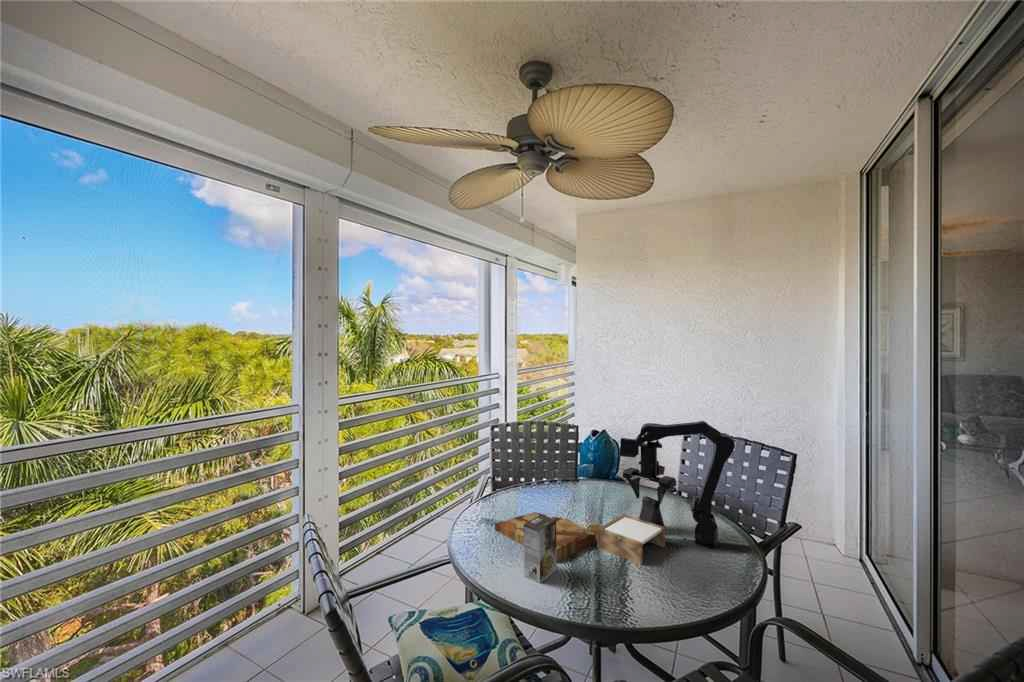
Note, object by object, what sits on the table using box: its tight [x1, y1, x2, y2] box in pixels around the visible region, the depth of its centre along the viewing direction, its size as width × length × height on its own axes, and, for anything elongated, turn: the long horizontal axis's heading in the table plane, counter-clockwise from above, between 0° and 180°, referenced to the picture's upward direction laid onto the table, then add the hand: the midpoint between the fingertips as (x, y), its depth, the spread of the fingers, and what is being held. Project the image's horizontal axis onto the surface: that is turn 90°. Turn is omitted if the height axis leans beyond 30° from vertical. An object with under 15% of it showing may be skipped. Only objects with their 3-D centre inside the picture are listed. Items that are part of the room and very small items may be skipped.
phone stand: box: [638, 495, 667, 532], centre depth 164 cm, size 9×6×12 cm, turn 117°
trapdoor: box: [604, 517, 662, 546], centre depth 150 cm, size 14×14×3 cm
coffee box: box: [523, 515, 558, 584], centre depth 134 cm, size 9×6×16 cm
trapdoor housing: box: [596, 514, 666, 566], centre depth 151 cm, size 16×18×6 cm
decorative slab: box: [494, 511, 597, 562], centre depth 159 cm, size 32×22×5 cm
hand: (648, 501), depth 160 cm, fingers open, 8 cm apart
